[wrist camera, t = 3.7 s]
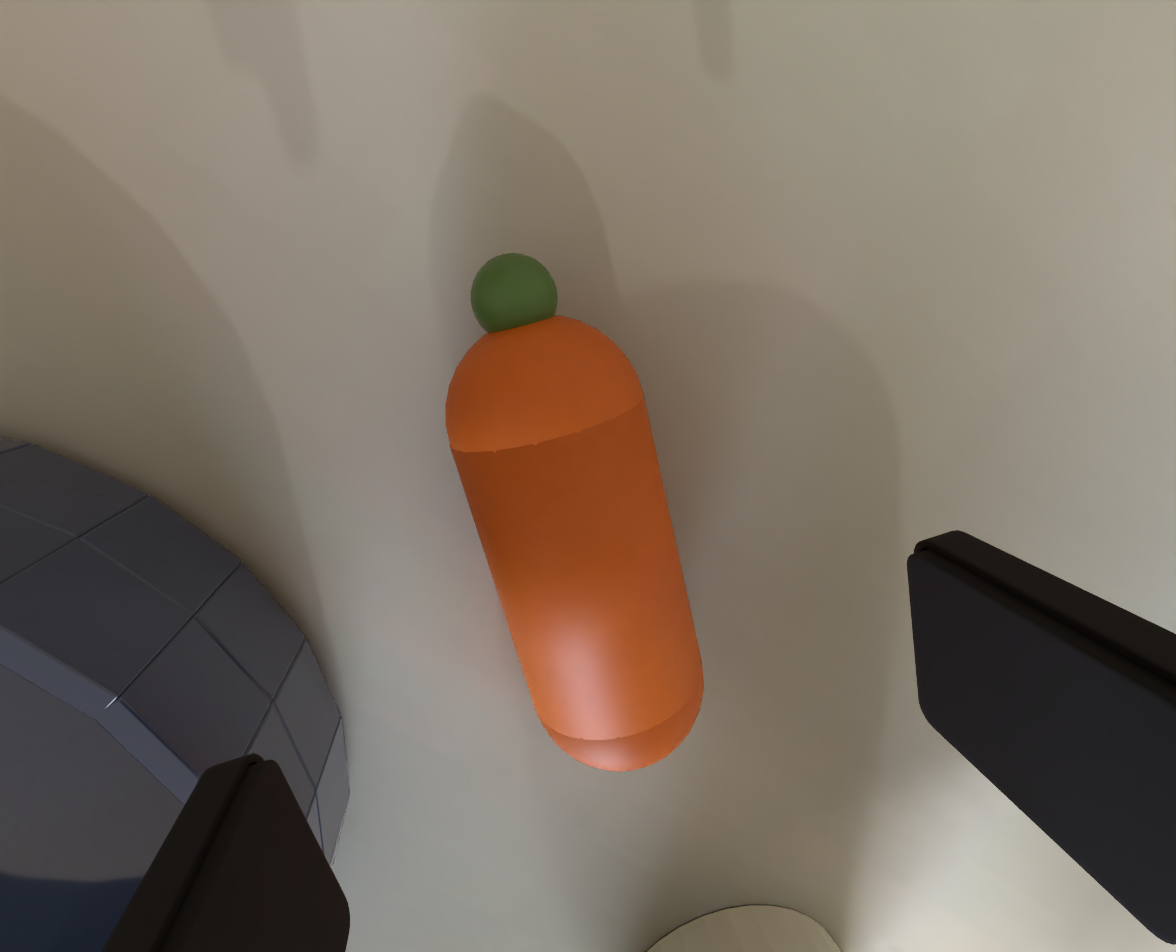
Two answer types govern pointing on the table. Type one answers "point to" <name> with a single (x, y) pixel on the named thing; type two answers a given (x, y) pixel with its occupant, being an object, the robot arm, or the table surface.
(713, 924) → the reusable coffee cup
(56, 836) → the blue round bowl
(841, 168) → the table surface
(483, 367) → the carrot
